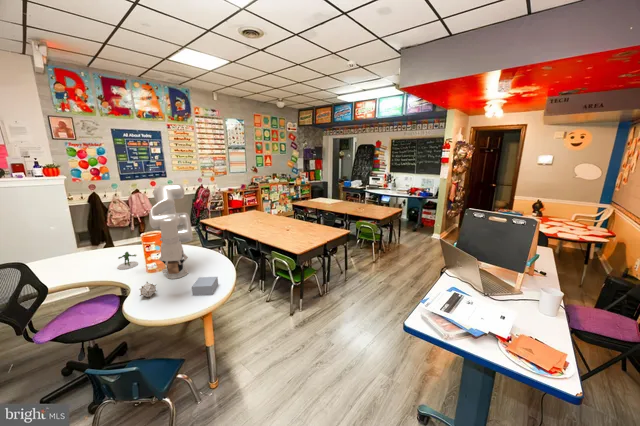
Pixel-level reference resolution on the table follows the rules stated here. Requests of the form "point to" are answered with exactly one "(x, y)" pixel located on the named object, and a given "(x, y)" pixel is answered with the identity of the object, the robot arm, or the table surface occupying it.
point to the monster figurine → (127, 264)
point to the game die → (148, 290)
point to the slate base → (205, 286)
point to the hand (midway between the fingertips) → (175, 270)
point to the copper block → (173, 267)
